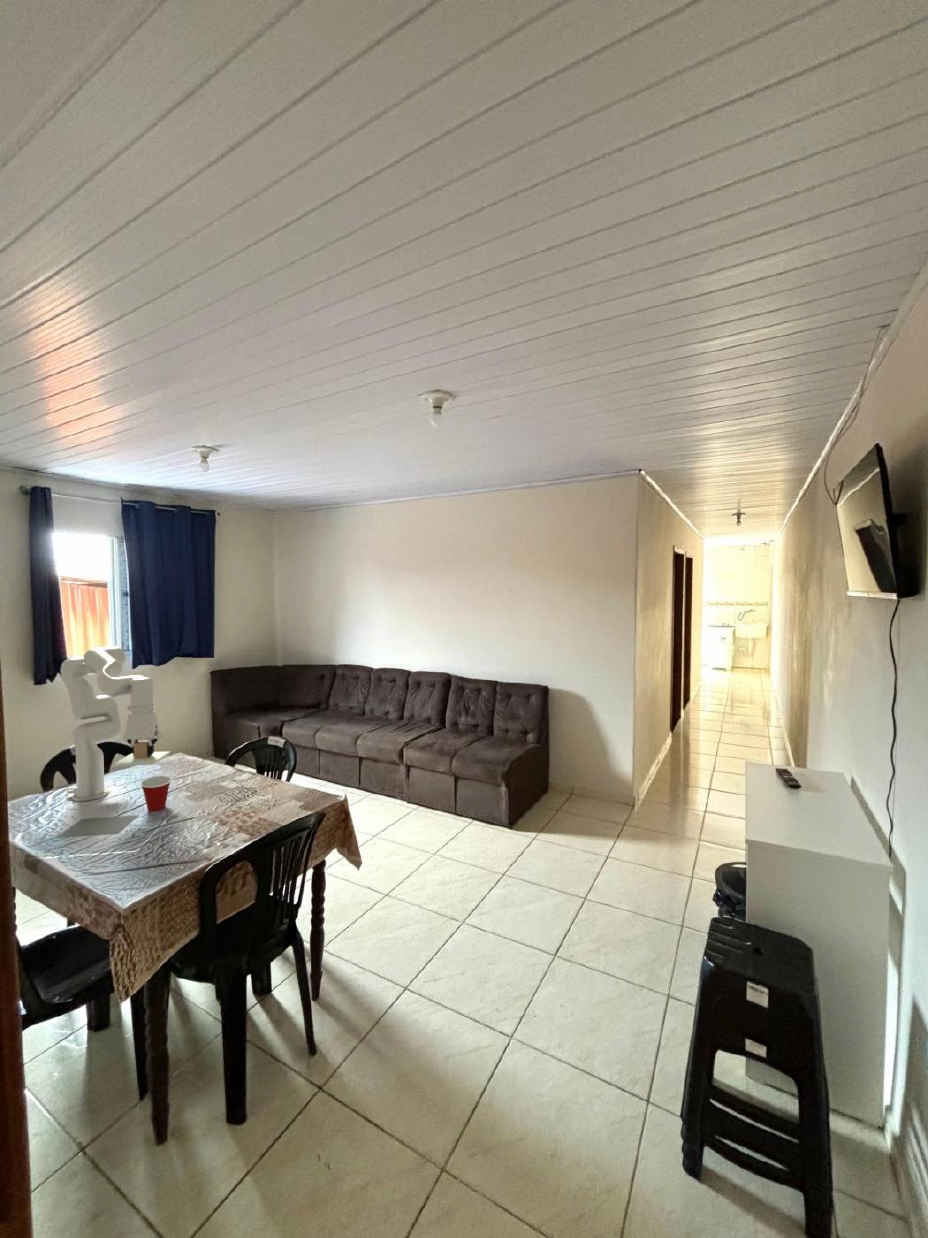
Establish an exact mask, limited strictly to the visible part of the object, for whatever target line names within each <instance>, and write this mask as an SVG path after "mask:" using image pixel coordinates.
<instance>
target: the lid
mask: <svg viewBox="0 0 928 1238" xmlns="http://www.w3.org/2000/svg"><path fill="white" fill-rule="evenodd" d="M148 746H149V744H148V740H147V739H144V740H138V742H136V743H134V757H133V754H132V752H131V753H130V754H128V755H126V756H125V757H122V758H121V759H119V760H117V761H116V762H115V763H114V766H113V767H124V766H126V767H127V766H131V767H132V766H150V765H151V766H152V765H155V764H157V763H159V762H160V761H161V760H163V759H165V758H166V757H167V756H169V755H170V754H171V751H170V750H169V751H154V753H153V754H152V755H151V756H148V753H147V747H148Z"/></svg>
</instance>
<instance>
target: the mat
mask: <svg viewBox="0 0 928 1238" xmlns="http://www.w3.org/2000/svg"><path fill="white" fill-rule="evenodd" d="M138 817H140V816H139V815H119V816H108V817H107V816H106V817H105V816H104V817H87V818H80V820H78V821H77V822H75V823H74V824H73V825H71V826H70V827H69V828H67V829H65V830H64V831H63V832H61V834H59V835H58V836H56V837H55V838H56V839H58V838H59V839H63V838H73V837H74V838H75V837H88V836H90V837H91V836H104V835H105V836H108V835H118V834H120V833H121V832H122V831H123V830H125V829H126V827H127V826H129V825H130V824H131V823H132V822H133V821H134V820H135V819H137V818H138Z"/></svg>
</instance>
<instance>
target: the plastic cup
mask: <svg viewBox="0 0 928 1238" xmlns="http://www.w3.org/2000/svg"><path fill="white" fill-rule="evenodd" d="M171 782H172V777H171V776H167V775H155V776H151V777H147V778H146V779H143V780H142V781H140V783H139V784H140V786H141V788H142V791H143V795H144V799H145V804H146V809H147V810H148V811H149V812H158V811H161V810H163V809H165V808H166V805H167V798H168V793H169V788H170V784H171Z"/></svg>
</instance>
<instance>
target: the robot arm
mask: <svg viewBox="0 0 928 1238" xmlns="http://www.w3.org/2000/svg"><path fill="white" fill-rule="evenodd" d="M125 662H126V653H125V651H124V650H123V649H122V648H121V647H119V646H106V647H105V646H103V647H96V648H95V647H94V648H91V649H88V650H87V651H86V652H85V653H84V654H83V656H82V655H81V656H76V657H75V656H74V657H70V658H67V659H65V660H64V661H63V662H62V663H61V666H60V676H61V678H62V681H63V683H64V685H65V687H66V689H67V691H68V697H69V702H70V706H71V713H72V715H73V717H74V719H75V720H77V721H88V720H92V719H93V720H95V719H98V718H102V719H101V720H96V721H89V722H85V723H82V724H79V725H77V726H75V728H74V729H73V730H72V734H71V735H72V741H73V745H74V750H75V752H74V753H75V769H76V770H75V771H76V772H75V773H76V774H75V776H76V779H75V780H76V786H75V787H74V786H70V787H69V786H68V787H67V789H66V790H67V791H66V793H67V794H72V797H71V799H72V800H73V801H74V802H89V801H93V800H97V799H101V798H103V797H105V796H108V794H109V792H110V791H109V789H108V788H105V771H104V770H105V767H104V765H105V764H104V761H105V760H104V759H105V758H104V752H103V750H102V749H101V748H99V746H98V744H101V743H105V742H110V741H114V740H117V739H118V738H120V736H121V734H122V725H121V724H122V723H121V719H120V714H119V709H118V704H117V701H116V700H115V698H118V697H126V696H130V706H127V711H130V713H128V716H127V720H126V731H125V734H124V735H123V736H122V740H124V741H126V742H127V743H128V744H129V745H130V747H131V750H132V751H131V753H132V754H133V757H134V743H136V742H138V741H139V740H148V744H149V746H148V747H147V753H148V756H151V755H152V754H153V753H154V752H155V744H156V743H157V742H158V741H159V740H161V739H162V738H163V737H164V735H163V734H162V732H161V731H160V730H159V724H158V723H159V722H158V717H157V713H156V711H154V707H155V706H154V705H155V704H154V680H153V678H152V677H150V676H143V675H141V674H133V675H126V676H119V675H120V674H121V673H122V671H123V664H124V663H125ZM86 676H87V677H89V676H96V683H97V686H98V689H99V690H100V691H101V692H102V693H104V694H102V695H95V693H94V692H95V691H94V688H93V685H92V683H91V682H89V680H87V678H84V677H86Z"/></svg>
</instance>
